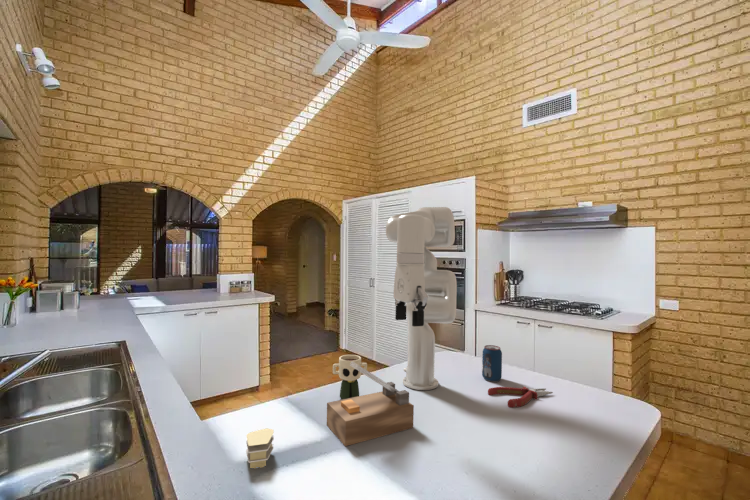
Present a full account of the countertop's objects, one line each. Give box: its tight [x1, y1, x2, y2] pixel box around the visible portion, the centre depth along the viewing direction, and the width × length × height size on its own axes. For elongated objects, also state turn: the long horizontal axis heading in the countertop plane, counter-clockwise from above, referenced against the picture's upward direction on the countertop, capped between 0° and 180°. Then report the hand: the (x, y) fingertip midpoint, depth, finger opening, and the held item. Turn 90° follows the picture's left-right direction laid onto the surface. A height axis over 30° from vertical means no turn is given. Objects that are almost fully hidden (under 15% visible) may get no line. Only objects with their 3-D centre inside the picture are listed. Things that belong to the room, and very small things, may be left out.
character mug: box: [332, 354, 368, 400], centre depth 116 cm, size 11×7×13 cm, turn 100°
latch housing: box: [326, 381, 415, 447], centre depth 98 cm, size 12×20×9 cm, turn 119°
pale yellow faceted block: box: [245, 428, 275, 469], centre depth 81 cm, size 10×9×6 cm
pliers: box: [487, 386, 554, 408], centre depth 120 cm, size 12×21×3 cm, turn 110°
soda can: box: [481, 344, 503, 383], centre depth 136 cm, size 7×7×12 cm
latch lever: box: [350, 361, 399, 394], centre depth 98 cm, size 5×17×1 cm
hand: (408, 322), depth 99 cm, fingers open, 9 cm apart
